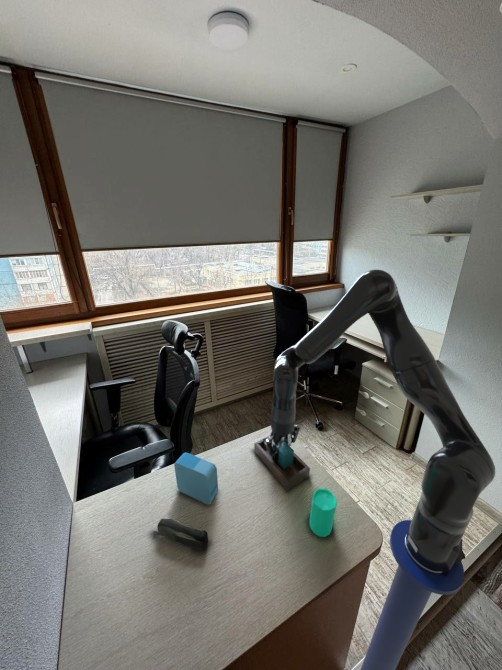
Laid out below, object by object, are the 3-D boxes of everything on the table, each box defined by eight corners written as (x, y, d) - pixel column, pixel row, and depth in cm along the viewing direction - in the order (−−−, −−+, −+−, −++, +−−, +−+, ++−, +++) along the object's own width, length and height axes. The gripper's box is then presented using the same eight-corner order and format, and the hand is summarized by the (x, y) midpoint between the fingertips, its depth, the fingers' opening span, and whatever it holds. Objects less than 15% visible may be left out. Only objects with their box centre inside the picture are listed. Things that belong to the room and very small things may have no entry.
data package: (218, 493, 81) (216, 464, 77) (210, 506, 78) (208, 476, 73) (186, 478, 86) (183, 450, 81) (177, 490, 82) (173, 461, 78)
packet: (277, 448, 95) (278, 435, 93) (292, 464, 89) (293, 450, 87) (268, 453, 93) (269, 440, 91) (283, 469, 87) (284, 455, 85)
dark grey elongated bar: (209, 528, 68) (155, 513, 71) (204, 541, 65) (149, 524, 68) (209, 540, 69) (157, 525, 73) (205, 553, 67) (151, 537, 70)
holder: (309, 476, 87) (310, 468, 85) (287, 490, 82) (288, 481, 81) (274, 440, 101) (274, 432, 100) (254, 451, 97) (254, 442, 95)
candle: (310, 511, 76) (314, 481, 72) (332, 518, 75) (338, 488, 70) (307, 532, 71) (311, 501, 67) (331, 540, 69) (336, 509, 65)
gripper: (292, 401, 90) (289, 440, 97) (257, 416, 83) (257, 457, 90) (308, 413, 85) (304, 454, 91) (272, 431, 77) (270, 474, 84)
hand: (280, 455), depth 91 cm, fingers closed on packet, 4 cm apart
